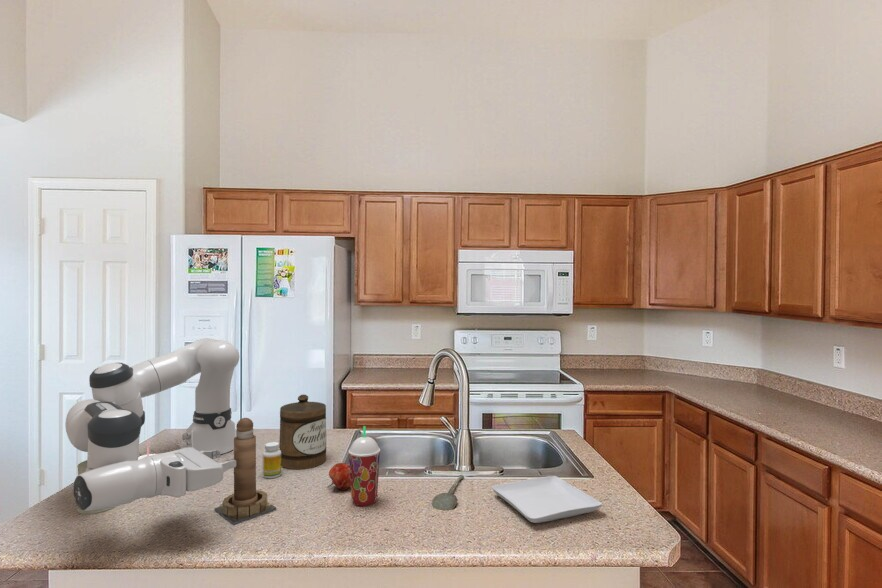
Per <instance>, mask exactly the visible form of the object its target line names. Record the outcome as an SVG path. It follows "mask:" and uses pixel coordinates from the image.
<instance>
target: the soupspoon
mask: <svg viewBox="0 0 882 588" xmlns="http://www.w3.org/2000/svg"><path fill="white" fill-rule="evenodd" d="M462 480H465V475H463V474H460V475H458V478H457V479H456V480H455V481H454V483H453V484H452V485H451V486H450V488H449V490H448V491H447V492H442V493H439V494H437V495H434V497H433V499H432V501H431V506H432V508H433V509H435V510H439V511H453V510H454V509H455V507H456V506H457V504H458V503H457V502H458V498H457V496H456V495H454V494H453V493H452V492H453V490H454V489H455V487H456V485H457V484H458V483H459V482H460V481H462Z"/></svg>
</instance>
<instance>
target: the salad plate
mask: <svg viewBox="0 0 882 588" xmlns="http://www.w3.org/2000/svg"><path fill="white" fill-rule="evenodd" d="M491 489H492V490H493V492H494V493H495V494H496V495H498V496H499V497H500V498H501V499H502V500H503V501H505V502H507V504H509V505H510V506H511V507H512V508H514V509H515V510H516V511H517V512H519V513H520V514H521V516H523V517H524V518H525V519H527V521H529V522H531V523H534V524H539V523H547V522H552V521H556V520H561V519H562V520H563V519H565V518H572V517H576V516H580V515H582V514H589V513H592V512H594V511H596V510H598V509H600V508H601V507H603V503H602V502H601V501H599V500H598V499H596V498H595V497H593V496H591V495H589V494H588V493H586V492H584V491H583V490H580V489H578V488H577V487H575V486H574V485H573V484H570V483H569V482H567V481H566V480H564V479H563V478H560V477H559V476H556V475H548V476H541V477H534V478H529V479H523V480H517V481H516V480H515V481H510V482H506V483H499V484H494V485H491Z"/></svg>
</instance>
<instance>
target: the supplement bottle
mask: <svg viewBox="0 0 882 588" xmlns="http://www.w3.org/2000/svg"><path fill="white" fill-rule="evenodd" d="M279 443H280V442H279V441H278V442H277V441H271V442H266V444H265V445H264V451H263V453H262V477H263V478H264V479H275V478H278V477H280V476H281V475H282V466H281V451H280V450H279Z"/></svg>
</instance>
